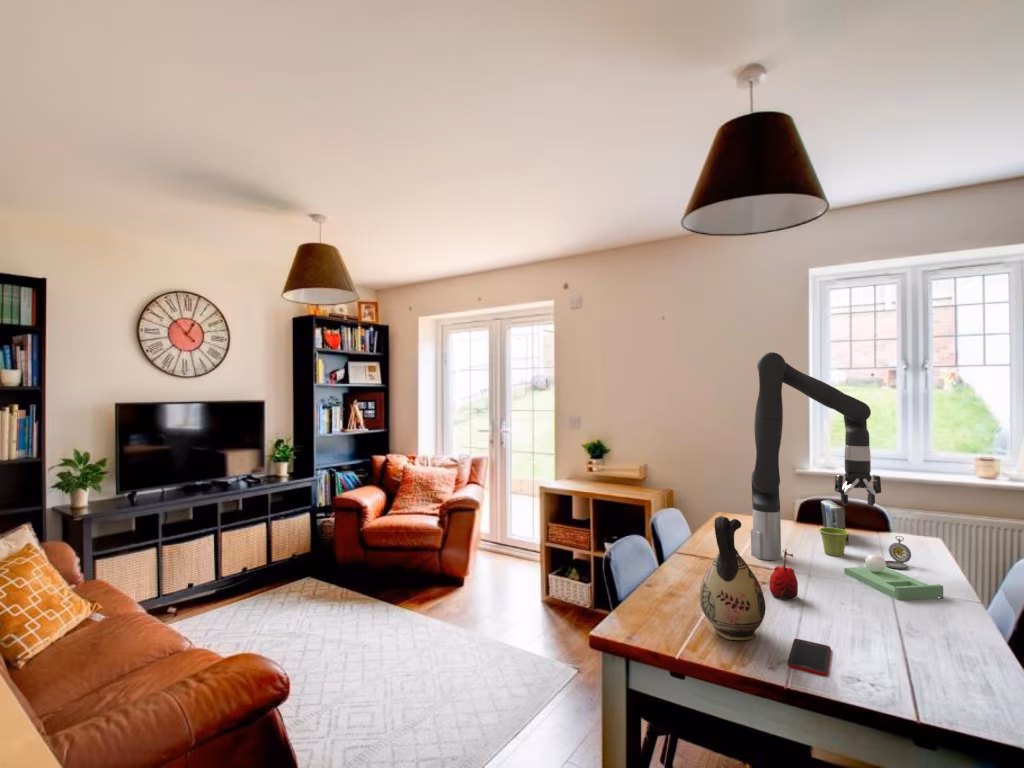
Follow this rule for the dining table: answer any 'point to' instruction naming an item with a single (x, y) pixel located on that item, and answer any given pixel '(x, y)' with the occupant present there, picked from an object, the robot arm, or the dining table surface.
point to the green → (895, 583)
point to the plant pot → (834, 540)
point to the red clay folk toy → (784, 581)
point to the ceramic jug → (731, 588)
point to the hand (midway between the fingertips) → (858, 505)
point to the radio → (833, 516)
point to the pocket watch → (899, 550)
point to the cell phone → (809, 657)
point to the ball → (875, 563)
